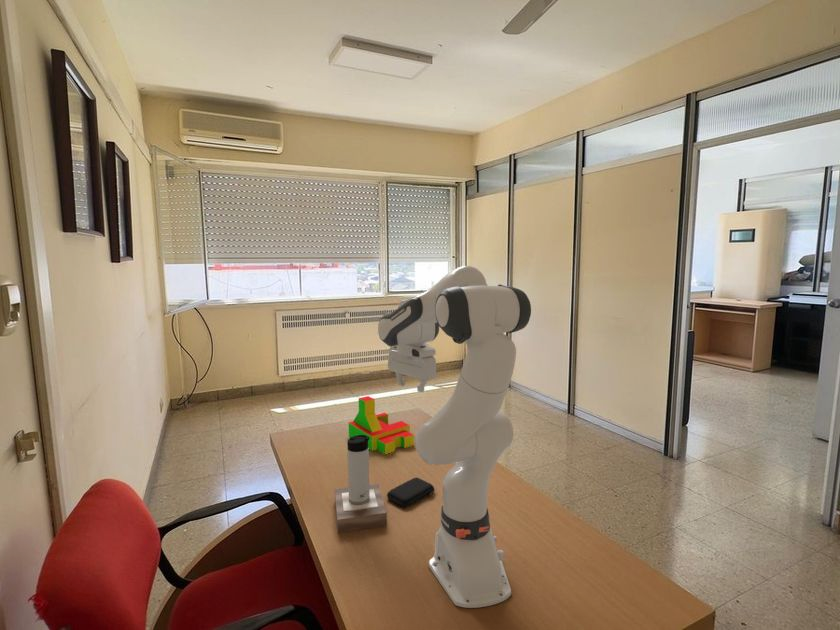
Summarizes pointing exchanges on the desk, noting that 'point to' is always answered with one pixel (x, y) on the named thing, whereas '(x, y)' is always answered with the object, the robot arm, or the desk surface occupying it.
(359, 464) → the travel mug
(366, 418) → the building blocks toy
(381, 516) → the walnut riser
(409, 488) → the carrying case or bag
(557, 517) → the desk surface
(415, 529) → the desk surface
